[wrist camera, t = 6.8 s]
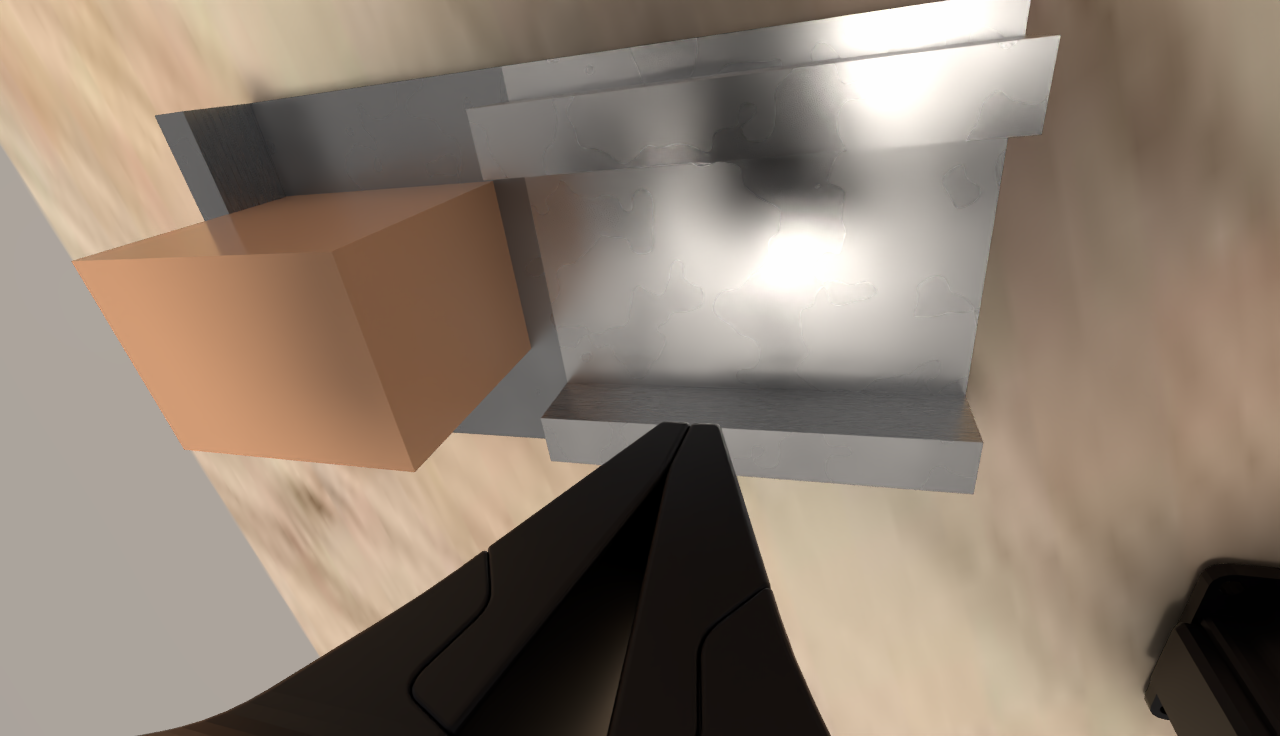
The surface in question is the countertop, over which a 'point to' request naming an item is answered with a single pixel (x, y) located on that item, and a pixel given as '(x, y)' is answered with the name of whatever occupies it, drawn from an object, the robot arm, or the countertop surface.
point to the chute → (708, 226)
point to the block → (321, 322)
